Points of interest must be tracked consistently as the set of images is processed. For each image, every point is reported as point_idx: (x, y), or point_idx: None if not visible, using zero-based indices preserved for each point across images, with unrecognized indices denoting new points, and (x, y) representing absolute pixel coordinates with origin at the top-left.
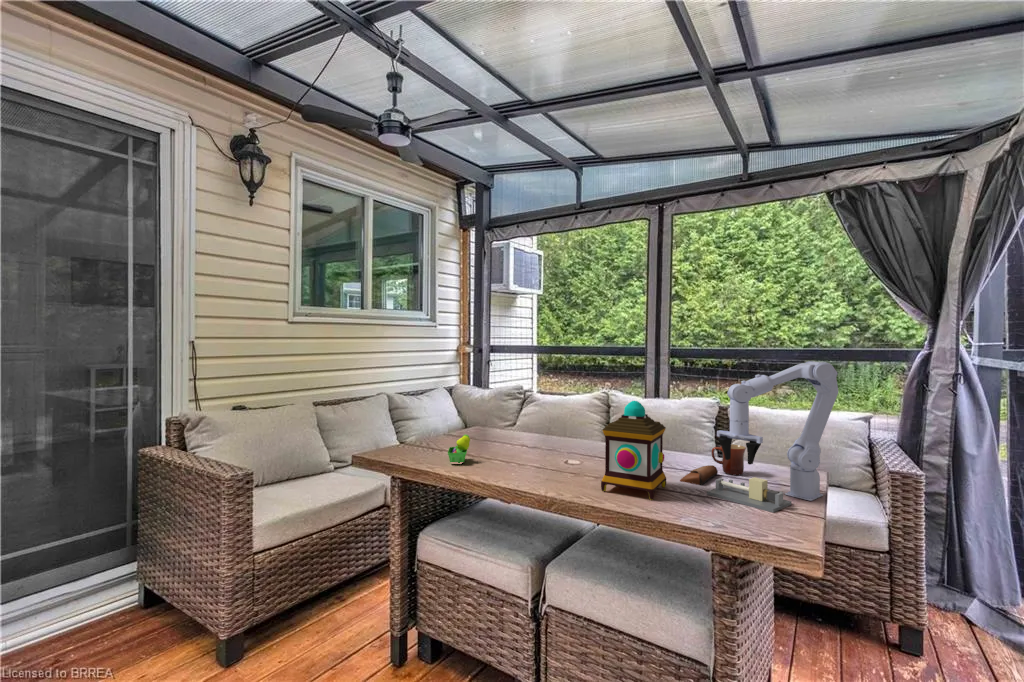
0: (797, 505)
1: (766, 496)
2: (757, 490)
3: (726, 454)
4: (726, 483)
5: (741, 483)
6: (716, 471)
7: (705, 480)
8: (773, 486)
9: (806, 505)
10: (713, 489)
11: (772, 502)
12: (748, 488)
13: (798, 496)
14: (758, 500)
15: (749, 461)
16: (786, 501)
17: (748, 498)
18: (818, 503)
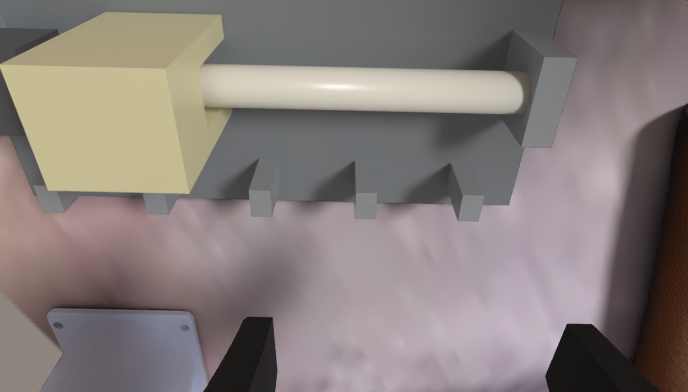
0: (23, 196)
1: None
2: (107, 35)
3: (611, 384)
4: (458, 77)
5: (368, 191)
6: None
7: (676, 185)
8: (315, 388)
9: (6, 233)
10: (553, 4)
11: None
12: (232, 75)
13: (115, 317)
14: None
15: (237, 345)
16: None
17: (220, 5)
18: (15, 305)
